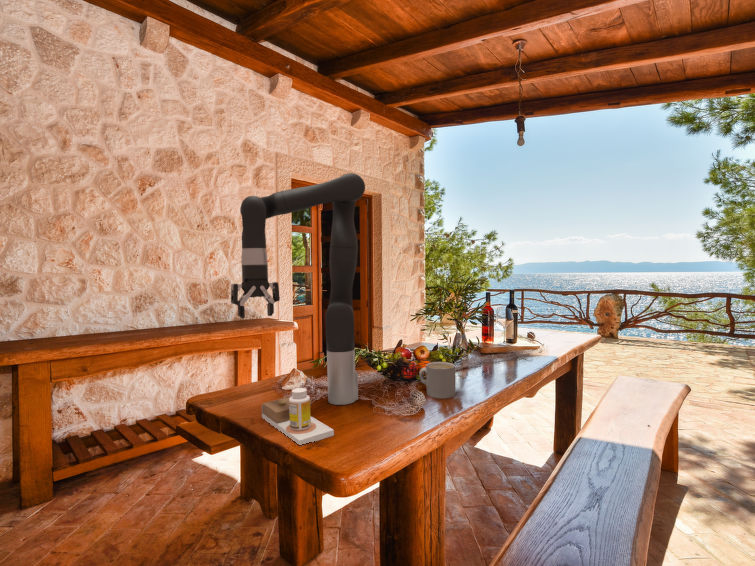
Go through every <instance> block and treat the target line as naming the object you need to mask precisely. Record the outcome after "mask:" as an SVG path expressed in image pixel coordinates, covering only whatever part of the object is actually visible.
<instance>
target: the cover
mask: <svg viewBox="0 0 755 566" xmlns="http://www.w3.org/2000/svg"><path fill="white" fill-rule="evenodd" d="M289 399H290V397H284V398H279V399H274V400H271V401H266V402H263V403H262V405H263V413H264V414H265V415H266V416H268V417H269V418H270V419H272V420H273V421H274V422H276V423H279V422H283V421H286V420H290V413H289Z"/></svg>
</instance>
